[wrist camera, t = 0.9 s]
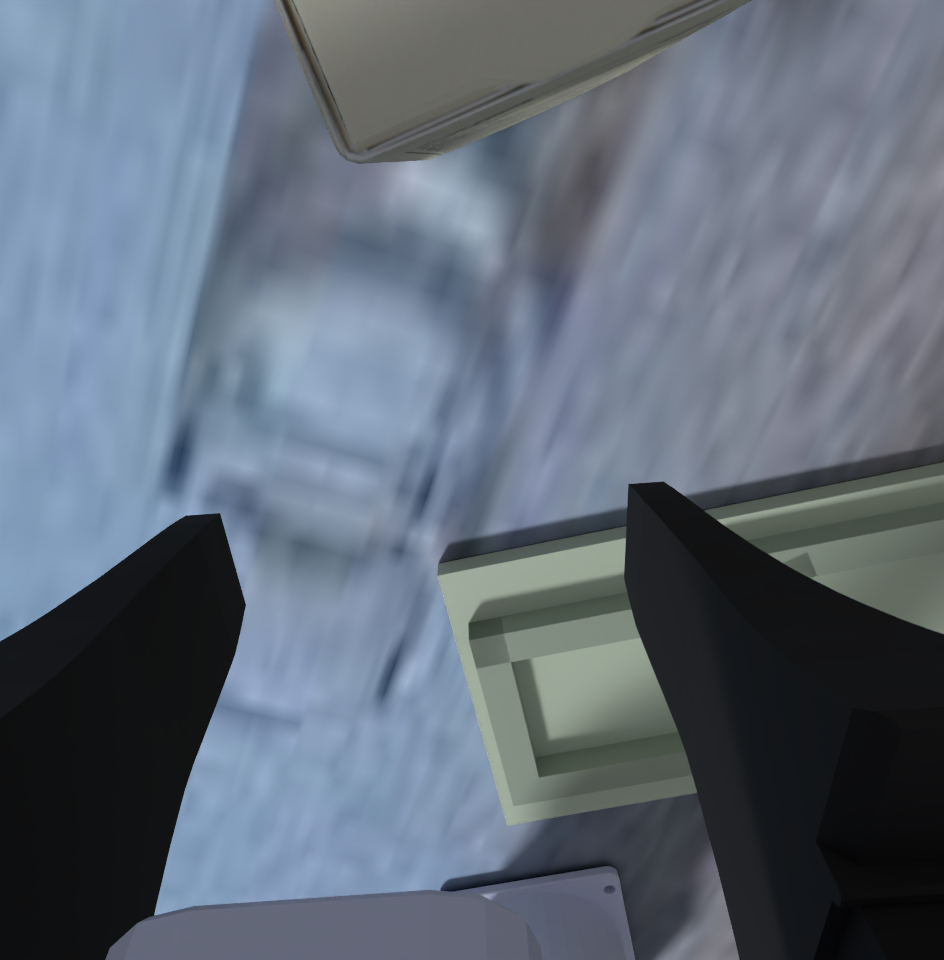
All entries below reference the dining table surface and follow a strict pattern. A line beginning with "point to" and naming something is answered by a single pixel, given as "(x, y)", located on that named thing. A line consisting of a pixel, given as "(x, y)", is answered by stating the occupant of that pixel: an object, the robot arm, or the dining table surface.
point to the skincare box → (468, 62)
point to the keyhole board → (619, 649)
